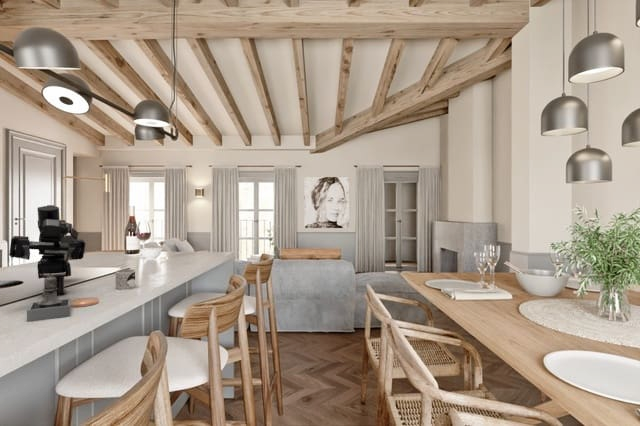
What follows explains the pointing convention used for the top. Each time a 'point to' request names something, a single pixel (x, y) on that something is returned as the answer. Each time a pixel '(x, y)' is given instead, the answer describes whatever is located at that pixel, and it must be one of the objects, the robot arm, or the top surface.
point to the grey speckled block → (125, 279)
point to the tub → (48, 311)
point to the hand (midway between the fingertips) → (48, 258)
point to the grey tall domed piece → (50, 293)
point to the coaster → (84, 302)
